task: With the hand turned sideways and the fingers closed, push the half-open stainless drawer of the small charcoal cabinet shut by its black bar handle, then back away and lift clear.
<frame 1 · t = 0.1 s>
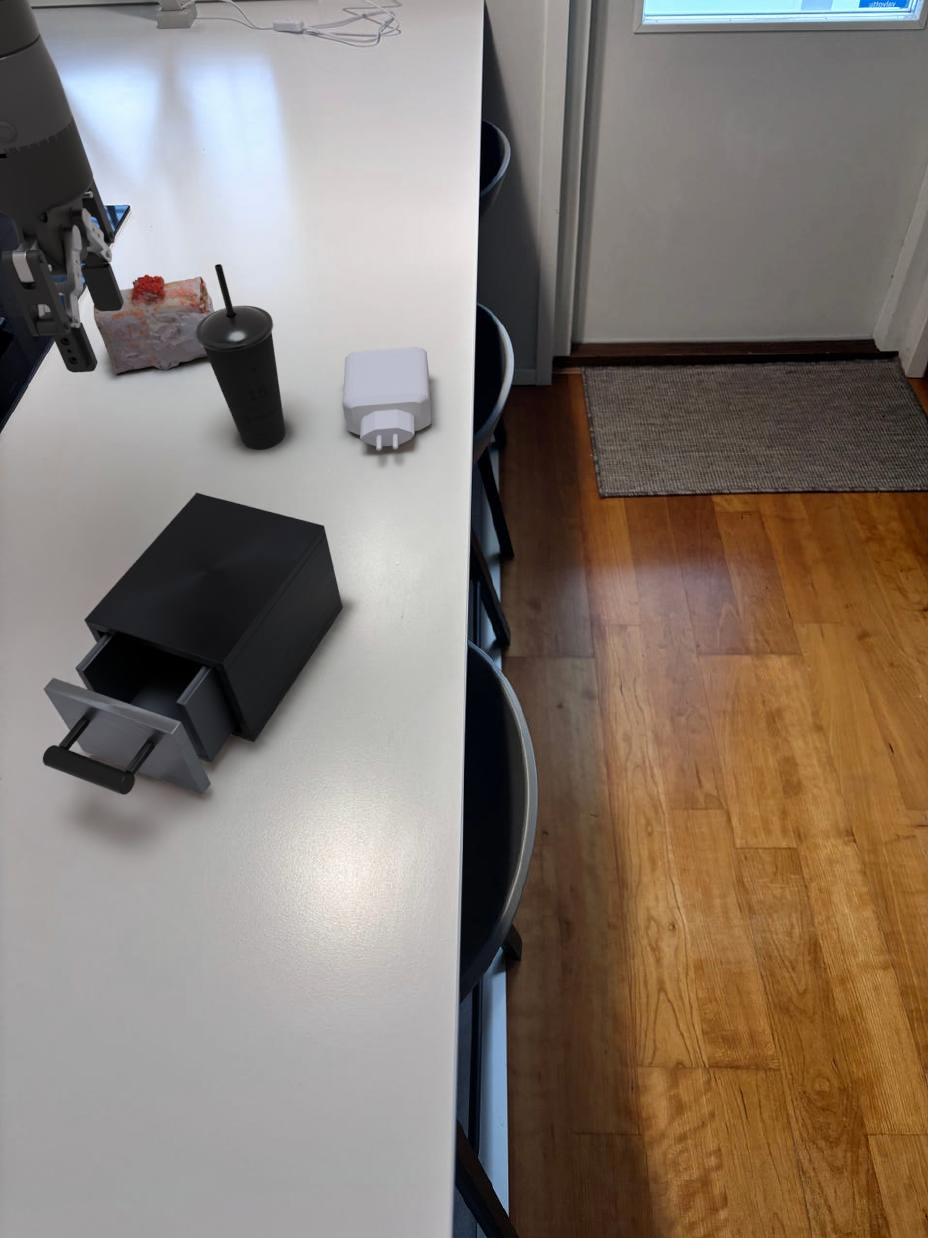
hand: (98, 338, 74), 24 cm above the counter, tool pointing down, fingers open, 8 cm apart
drawer: (163, 692, 75), point 5 cm above the counter, slide at 5.0 cm
drinking cup: (263, 437, 105), on the counter
food item: (169, 356, 117), on the counter
charger: (390, 425, 105), on the counter
cabinet: (238, 651, 84), on the counter
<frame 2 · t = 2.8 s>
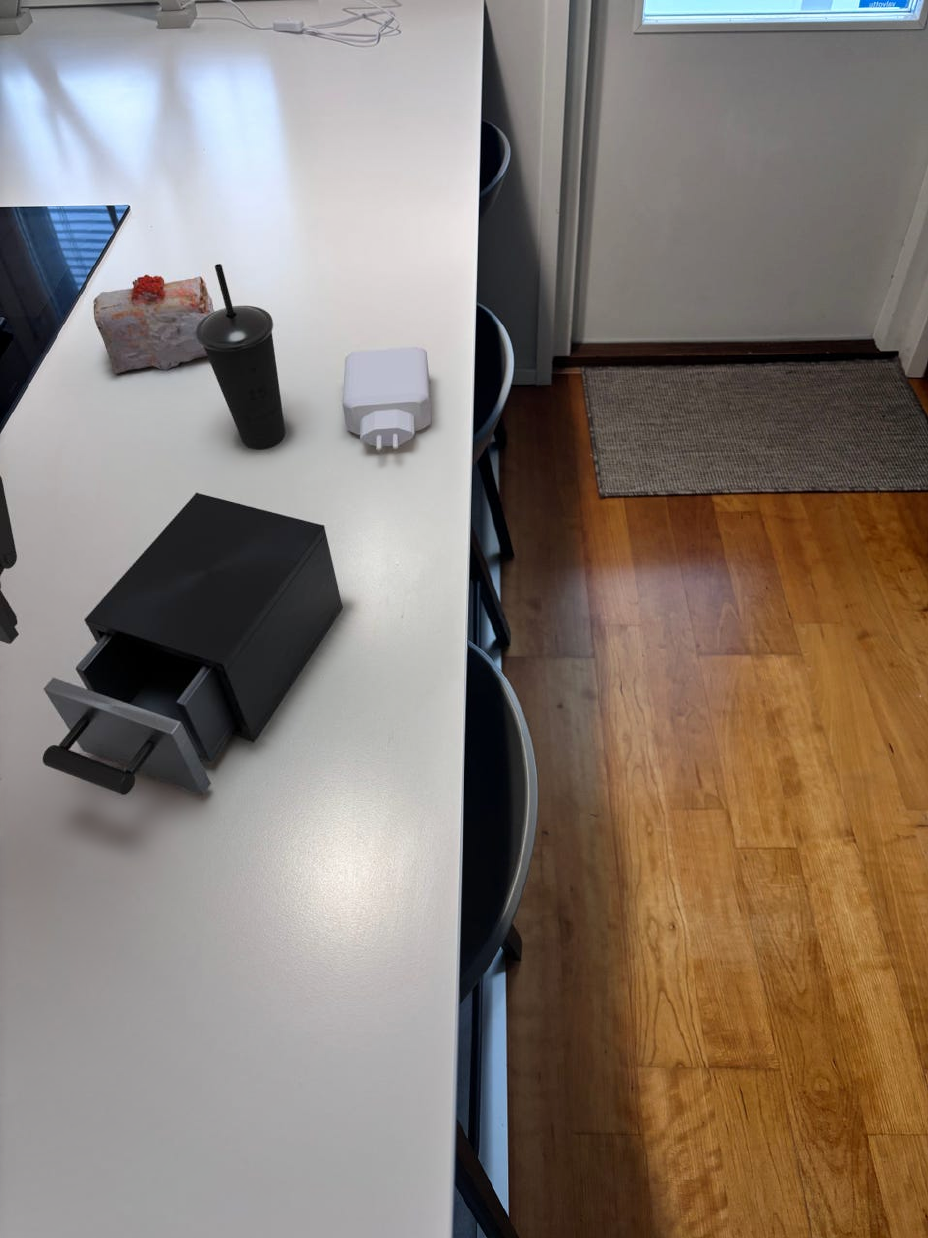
nothing on the counter moved.
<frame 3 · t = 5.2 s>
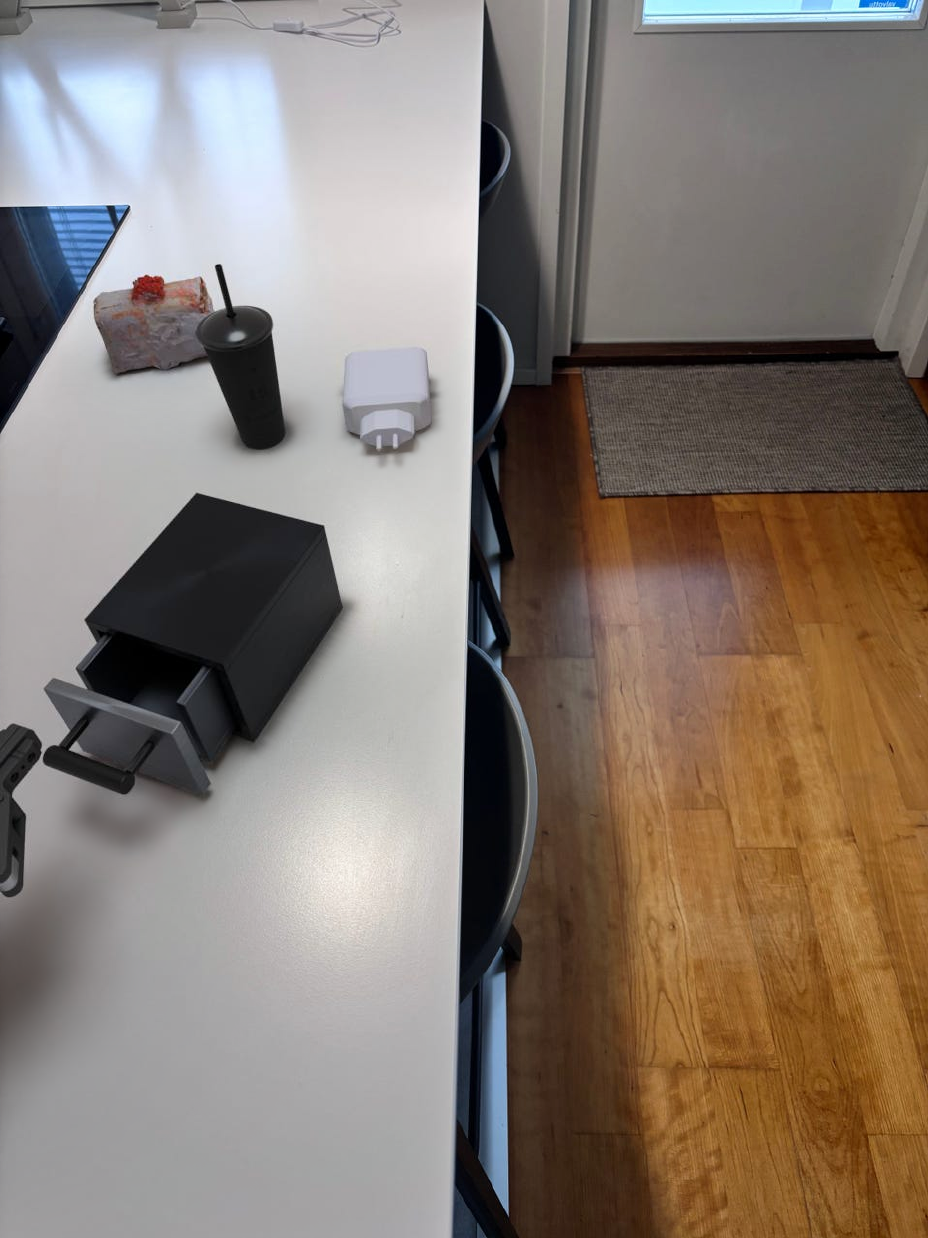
hand: (28, 733, 62), 14 cm above the counter, tool horizontal, fingers closed
nothing on the counter moved.
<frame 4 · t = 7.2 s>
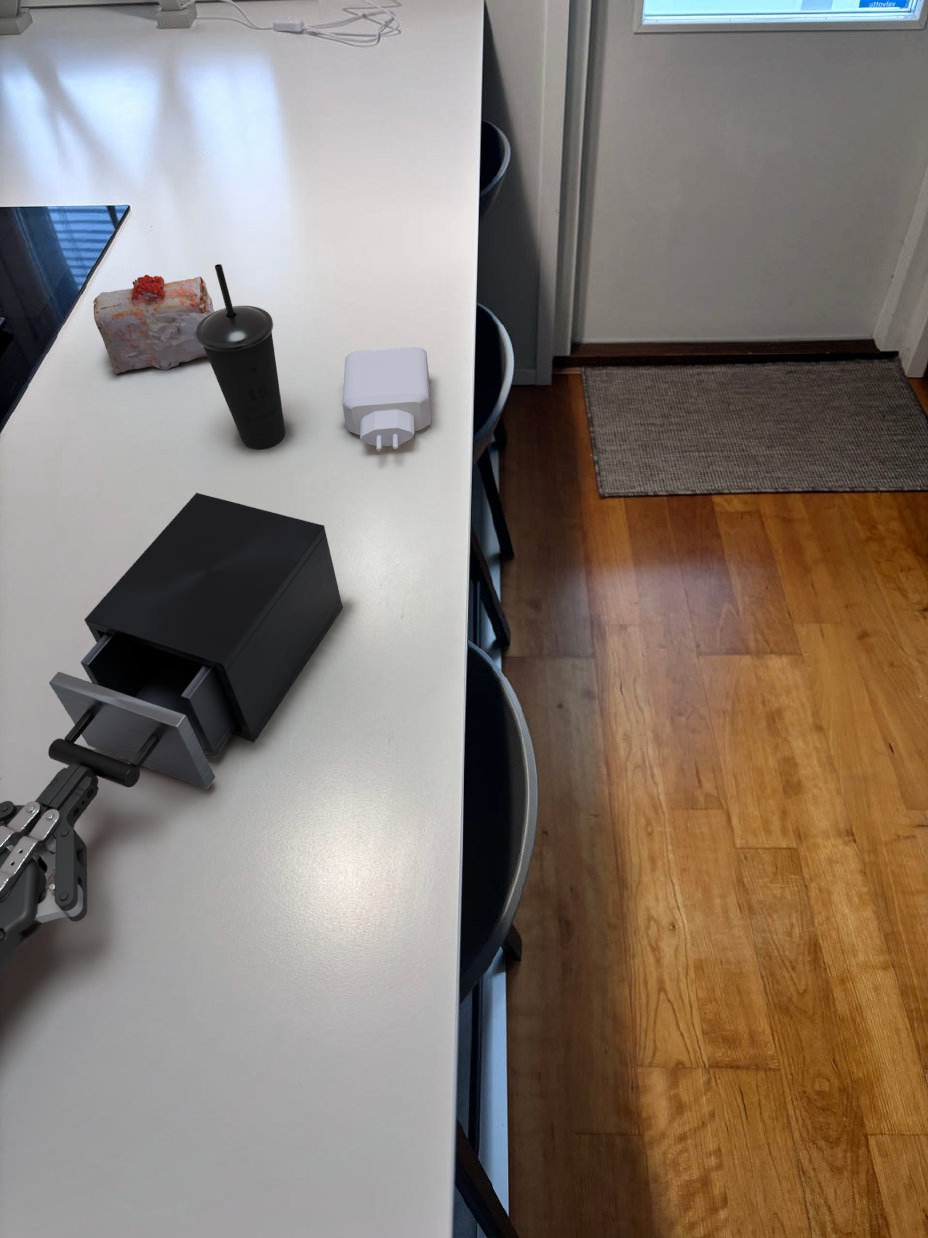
hand: (86, 771, 69), 7 cm above the counter, tool horizontal, fingers closed
drawer: (168, 686, 75), point 5 cm above the counter, slide at 4.4 cm, touching gripper
everything else where it was.
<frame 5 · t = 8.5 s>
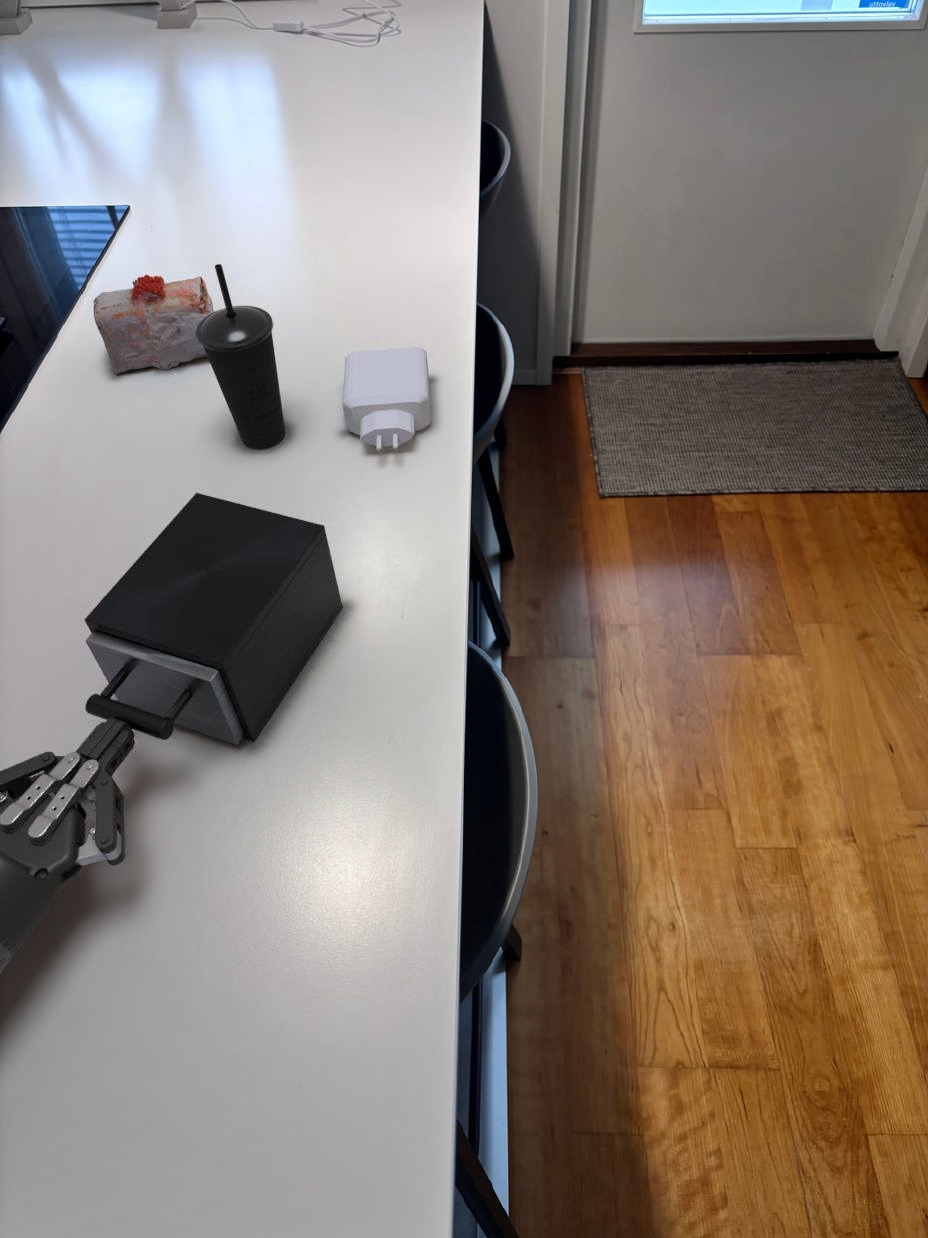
hand: (123, 726, 71), 7 cm above the counter, tool horizontal, fingers closed
drawer: (198, 646, 78), point 5 cm above the counter, slide at 0.0 cm, touching cabinet, gripper
everything else where it was.
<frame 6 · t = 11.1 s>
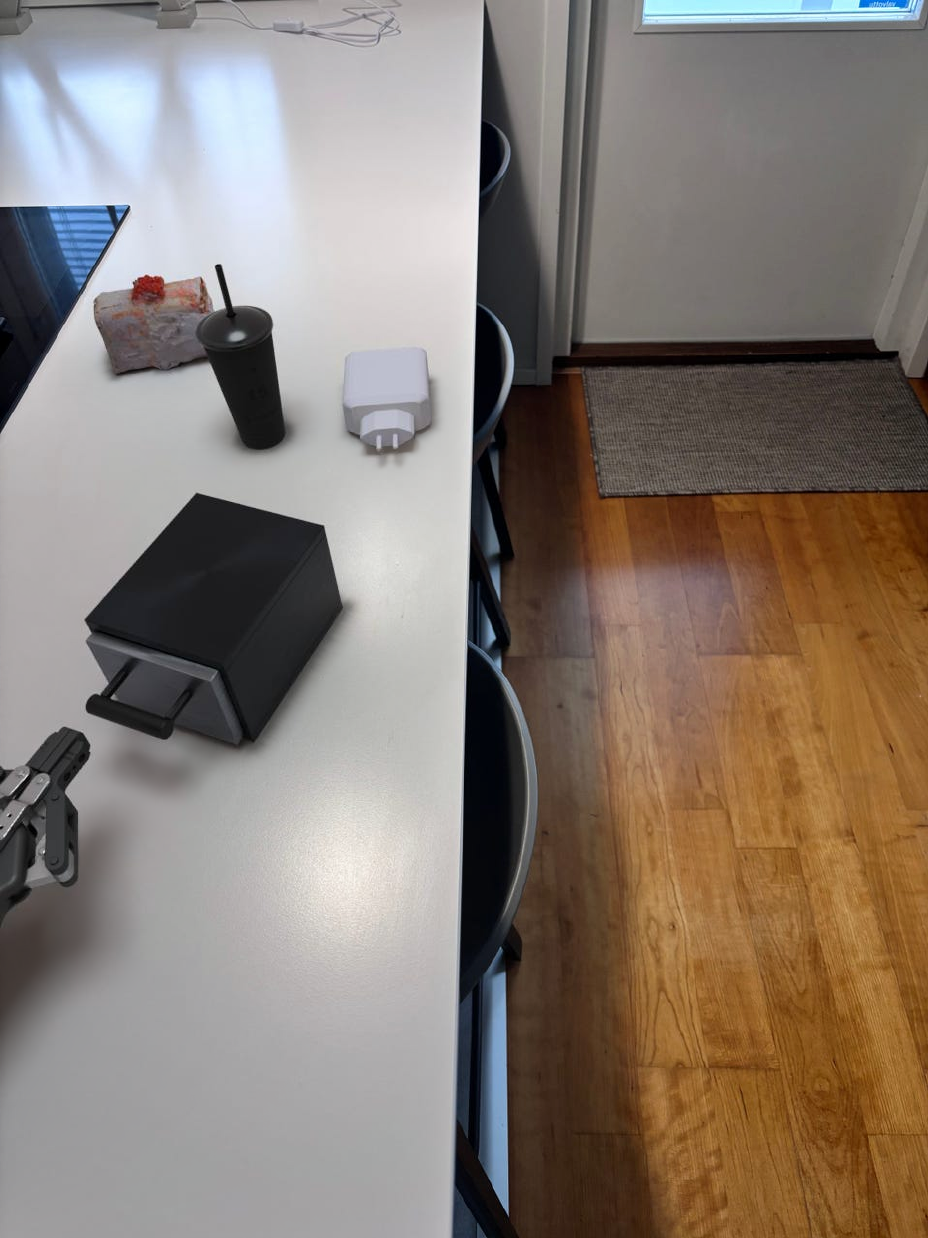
hand: (77, 735, 67), 10 cm above the counter, tool horizontal, fingers closed
drawer: (198, 646, 78), point 5 cm above the counter, slide at 0.0 cm, touching cabinet
everything else where it was.
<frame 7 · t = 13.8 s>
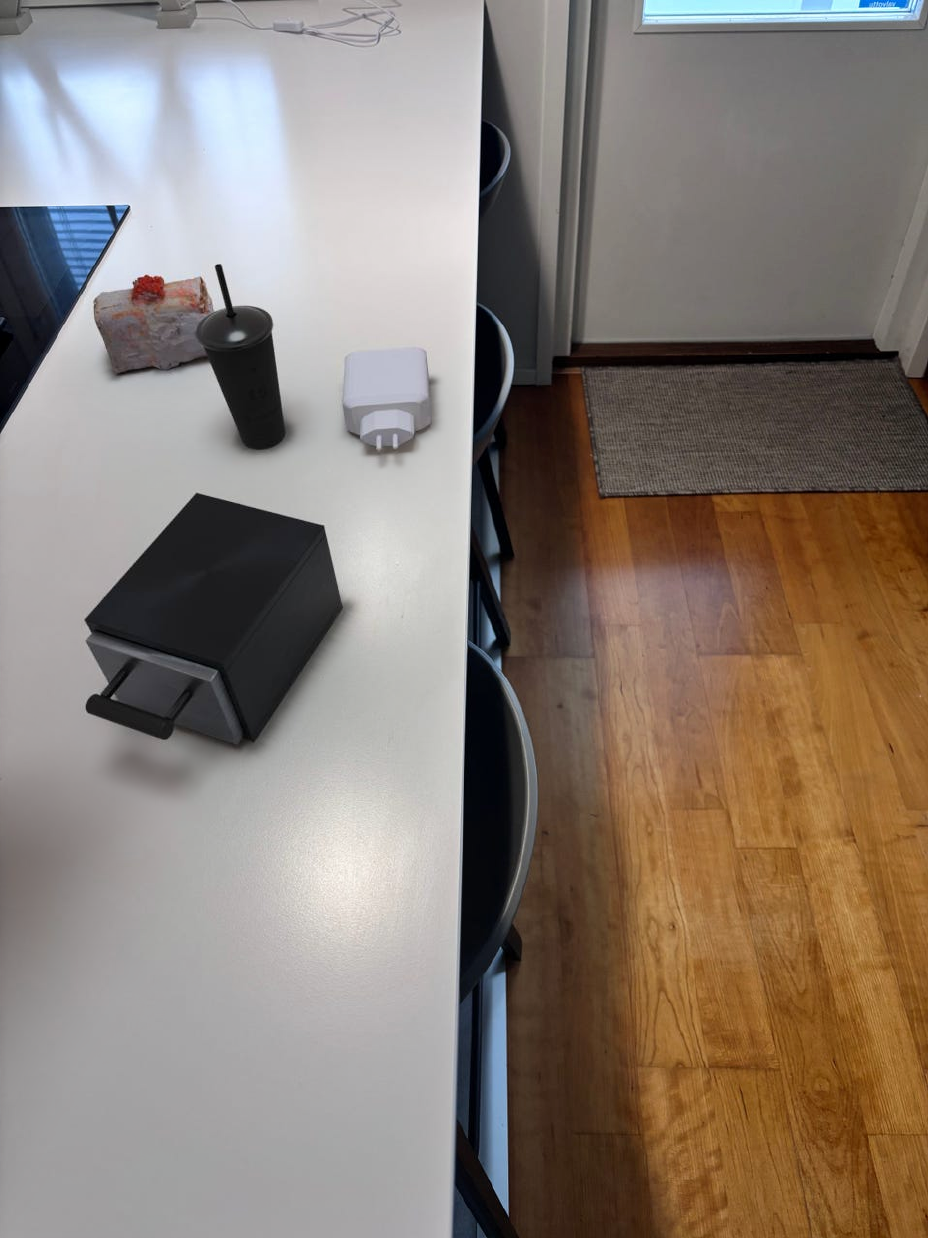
nothing on the counter moved.
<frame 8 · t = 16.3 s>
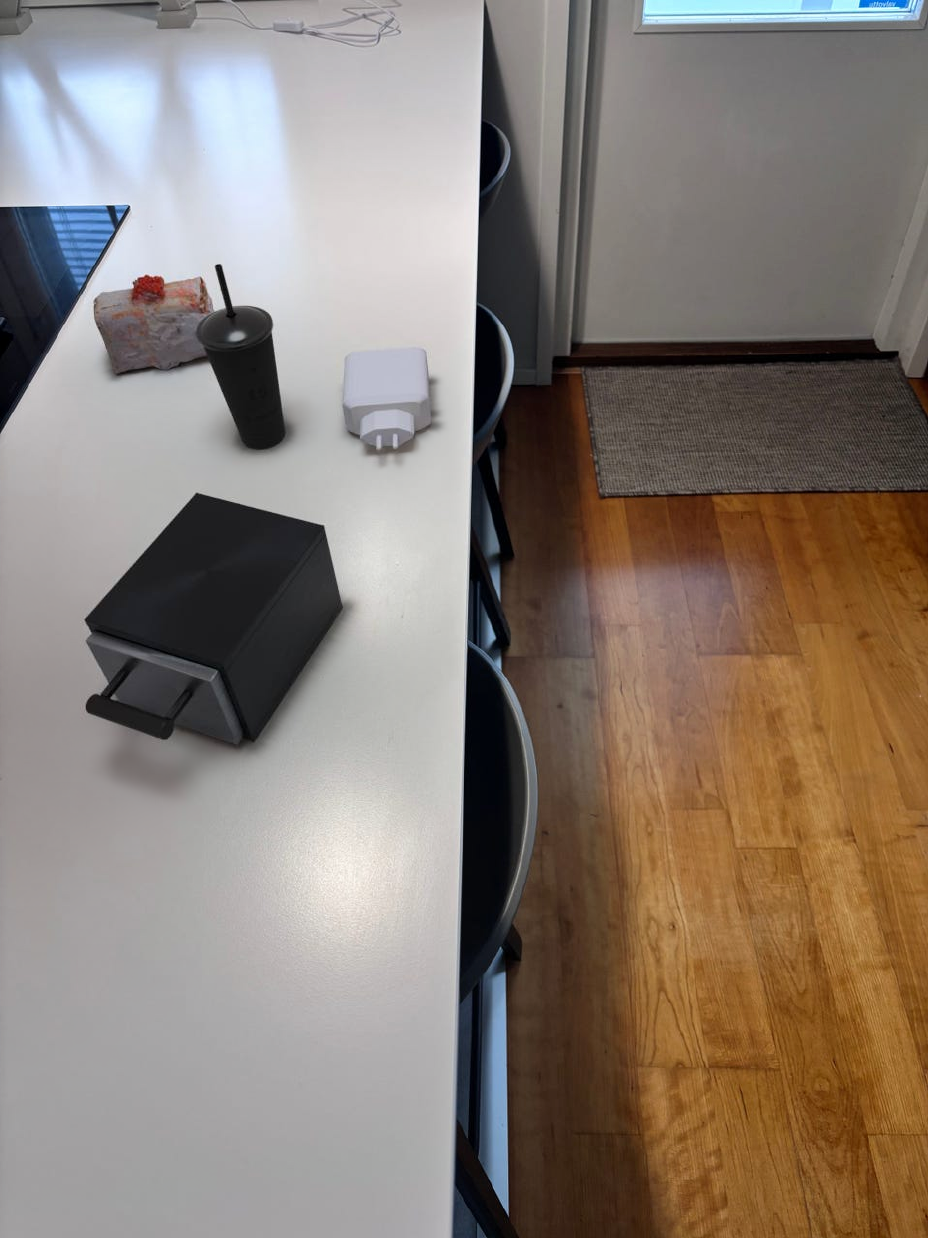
nothing on the counter moved.
at the end: drawer slide at 0.0 cm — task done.
